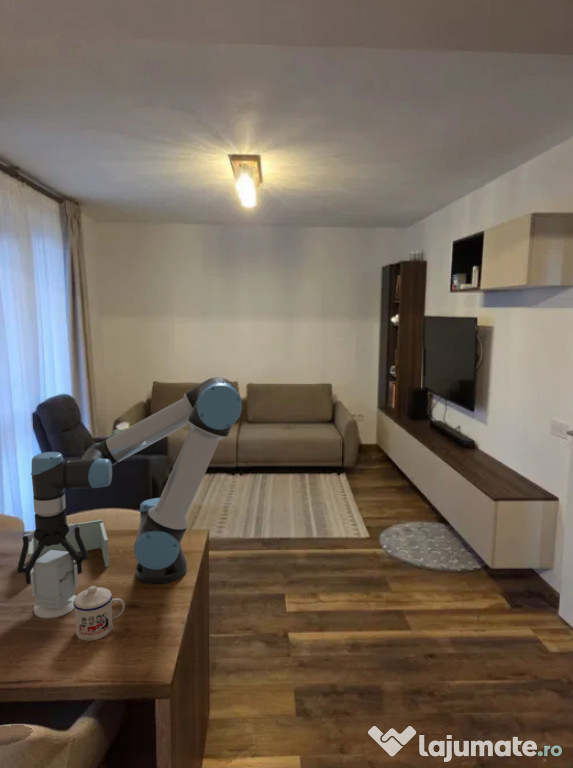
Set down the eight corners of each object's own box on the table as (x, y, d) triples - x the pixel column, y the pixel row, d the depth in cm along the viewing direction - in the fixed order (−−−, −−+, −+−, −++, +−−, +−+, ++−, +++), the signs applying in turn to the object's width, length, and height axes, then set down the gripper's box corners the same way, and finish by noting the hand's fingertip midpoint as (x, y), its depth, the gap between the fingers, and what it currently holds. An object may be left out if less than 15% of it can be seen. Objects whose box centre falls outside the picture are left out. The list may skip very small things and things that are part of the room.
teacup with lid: (75, 646, 120) (72, 601, 118) (75, 624, 128) (72, 582, 127) (127, 633, 125) (125, 590, 123) (123, 613, 133) (122, 572, 131)
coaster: (86, 596, 140) (86, 594, 140) (62, 620, 130) (62, 618, 130) (50, 592, 142) (50, 590, 142) (24, 616, 131) (24, 613, 131)
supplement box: (59, 609, 131) (56, 564, 130) (34, 606, 133) (31, 561, 131) (76, 594, 139) (74, 551, 137) (53, 591, 140) (50, 548, 138)
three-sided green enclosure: (31, 559, 161) (29, 531, 160) (103, 545, 171) (102, 519, 169) (30, 582, 148) (28, 552, 146) (109, 566, 157) (107, 537, 156)
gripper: (94, 499, 140) (98, 573, 143) (2, 513, 130) (9, 591, 134) (96, 509, 133) (100, 586, 137) (0, 524, 124) (7, 606, 127)
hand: (55, 589), depth 135 cm, fingers closed on supplement box, 10 cm apart
